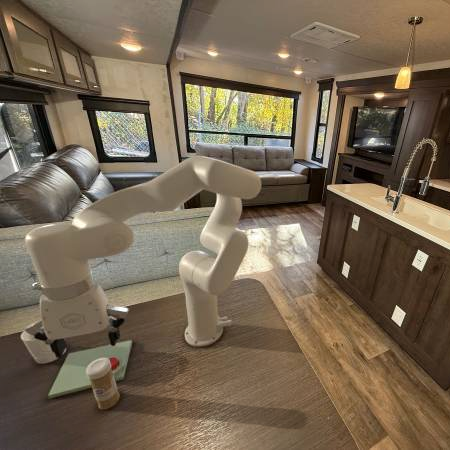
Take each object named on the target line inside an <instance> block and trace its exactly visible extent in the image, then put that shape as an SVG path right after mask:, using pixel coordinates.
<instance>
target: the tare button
mask: <svg viewBox="0 0 450 450" xmlns="http://www.w3.org/2000/svg"><path fill="white" fill-rule="evenodd" d="M109 360H110V363H111V370H112V371H113V370H114V369H116V368H117V366H118V361H117V358H115V357H112V358H109Z"/></svg>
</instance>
